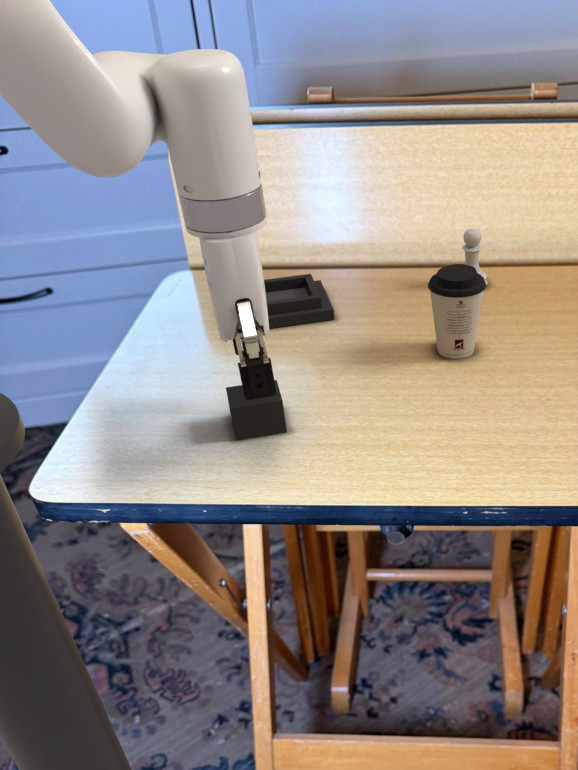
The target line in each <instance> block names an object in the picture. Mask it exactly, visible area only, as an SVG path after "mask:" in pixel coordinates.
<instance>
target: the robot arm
mask: <svg viewBox="0 0 578 770" xmlns="http://www.w3.org/2000/svg"><path fill="white" fill-rule="evenodd" d="M0 97H2V99H3V100H4V101H5V102H6V103H7V105H9V107H11V108H12V109H13V111H14V112H15V113H16V114H17V115H18V116H19V117H20V118H21V119H22V121H24V122H25V124H27V125H28V126H29V127H30V129H31V130H32V131H33V132H34V133H35V134H36V135H37V136H38V137H39V138H40V139H41V140H42V141H43V143H45V144H46V145H47V146H48V147H49V148H50V150H52V151H53V152H54V153H55V154H56V155H58V156H59V157H60V158H61V159H62V160H64V162H66V163H68V164H69V165H70V166H72V167H73V168H75V169H76V170H78V171H80V172H83V173H85V174H86V175H89V176H93V177H96V178H106V179H109V178H116V177H117V178H118V177H120V176H122V175H125V174H128V173H130V172H131V171H132V170H134V169H135V168H136V167H137V166H138V165H139V163H140V162H141V161H142V159H144V156H145V155H146V154H147V152H148V149H149V148H150V147H151V146H153V145H154V144H156V143H158V142H164V143H165V144H166V146H167V150H168V155H169V159H170V164H171V168H172V172H173V177H174V180H175V181H174V182H175V186H176V190H177V195H178V201H179V204H180V209H181V213H182V218H183V221H184V226H185V231H186V233H188V235H191V236H192V237H195V238H198V239H199V246H200V252H201V257H202V262H203V263H202V264H203V267H204V273H205V276H206V280H207V285H208V290H209V296H210V300H211V304H212V308H213V313H214V318H215V322H216V326H217V331H218V335H219V336H218V337H219V339H220V341H223V343H228V341H232V344H233V350H234V353H235V355H236V356H238V359H239V362H237V367H238V371H239V377H240V381H241V385H242V387H243V392H244V396H245V399H246V400H253V399H259V398H264V397H270V396H274V395H276V387H275V381H274V380H275V377H274V370H273V364H272V359H271V357H269V355H268V354H269V353H268V350H267V345H266V340H265V337H266V336H267V335H268V333H269V332H270V329H269V321H268V310H267V301H266V292H265V285H264V280H265V278H264V271H263V265H262V257H261V251H260V246H259V238H258V232H257V231H258V230H261V229H262V228H264V227H265V226H266V224H267V223H268V215H267V209H266V203H265V195H264V189H263V183H262V177H261V170H260V164H259V158H258V152H257V151H258V150H257V145H256V139H255V131H254V126H253V125H254V124H253V119H252V118H253V117H252V113H251V107H250V106H251V105H250V101H249V94H248V86H247V81H246V75H245V70H244V68H243V65H242V63H241V61H240V59H239V58H238V57H237V56H236V55H235V54H233V53H232V52H230V51H227V50H224V49H218V48H197V49H196V48H195V49H187V50H181V51H176V52H172V53H169V54H163V53H162V54H161V53H146V52H138V51H137V52H136V51H127V50H104V51H98V52H96V53H93V54H92V52H90V51H89V50H88V48H87V47H86V46H85V44H84V43H83V42H82V41H81V40H80V39H79V37H78V35H76V33H75V32H74V31H73V30H72V29H71V27H70V26H69V24H68V23H67V22H66V21H65V20H64V18H63V17H62V16H61V14H60V12H58V10H57V9H56V7H55V6H54V4H53V3H52V1H51V0H0Z"/></svg>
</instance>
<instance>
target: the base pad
mask: <svg viewBox="0 0 578 770" xmlns="http://www.w3.org/2000/svg"><path fill="white" fill-rule="evenodd" d="M264 285H265V292H266V301H267V310H268V321H269V330H270V329H276V328H284V327H291V326H298V325H304V324H312V323H321V322H327V321H333V320H335V310H334V307H333V305H332V302H331V300H330V298H329V296H328V293H327V292H326V288H325V287H324V285H323V283H322V280H320V279H318V280H314V278H313V275H312V274H311V273H306V274H299V275H298V274H297V275H290V276H283V277H275V278H267V279H264Z"/></svg>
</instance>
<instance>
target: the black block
mask: <svg viewBox="0 0 578 770" xmlns="http://www.w3.org/2000/svg"><path fill="white" fill-rule="evenodd" d="M274 381H275V387H276V395H274V396H270V397H264V398H259V399H253V400H246V399H245V396H244V392H243V387H242V384H239V385H234V386H227V387H225V390H226V391H225V392H226V396H227V401H228V408H229V413H230V417H231V422H232V423H231V424H232V428H233V433H234V438H235V441H241V440H247V439H252V438H253V439H254V438H259V437H265V436H271V435H278V434H285V433H288V428H287V421H286V415H285V409H284V401H283V398H282V393H281V390H280V386H279V383H278V380H277V379H274Z"/></svg>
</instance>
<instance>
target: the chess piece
mask: <svg viewBox="0 0 578 770" xmlns="http://www.w3.org/2000/svg"><path fill="white" fill-rule="evenodd" d="M462 237H463V242H464V245H463V246H461V249H462V250H463V251H464V258H465V260H464V261H465V262H464V264H465V265H470V266H473V267H474V268H475V269H476V271H477V273H478V274H480V275H481V276H482V277H483V278H484V280H485V282H486V286H487V285H488V280H487V278H488V277H487V273H485V272H484V271H483V270H482V269H481V268H480V267H481V266H480V264H479V255H480V251H481V250H482V249H483V246H482V245H480V243H481V241H482V233H481V231H480V230H479V229H477V228H468V229H467V230H465V231H464V234H463V236H462Z"/></svg>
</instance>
